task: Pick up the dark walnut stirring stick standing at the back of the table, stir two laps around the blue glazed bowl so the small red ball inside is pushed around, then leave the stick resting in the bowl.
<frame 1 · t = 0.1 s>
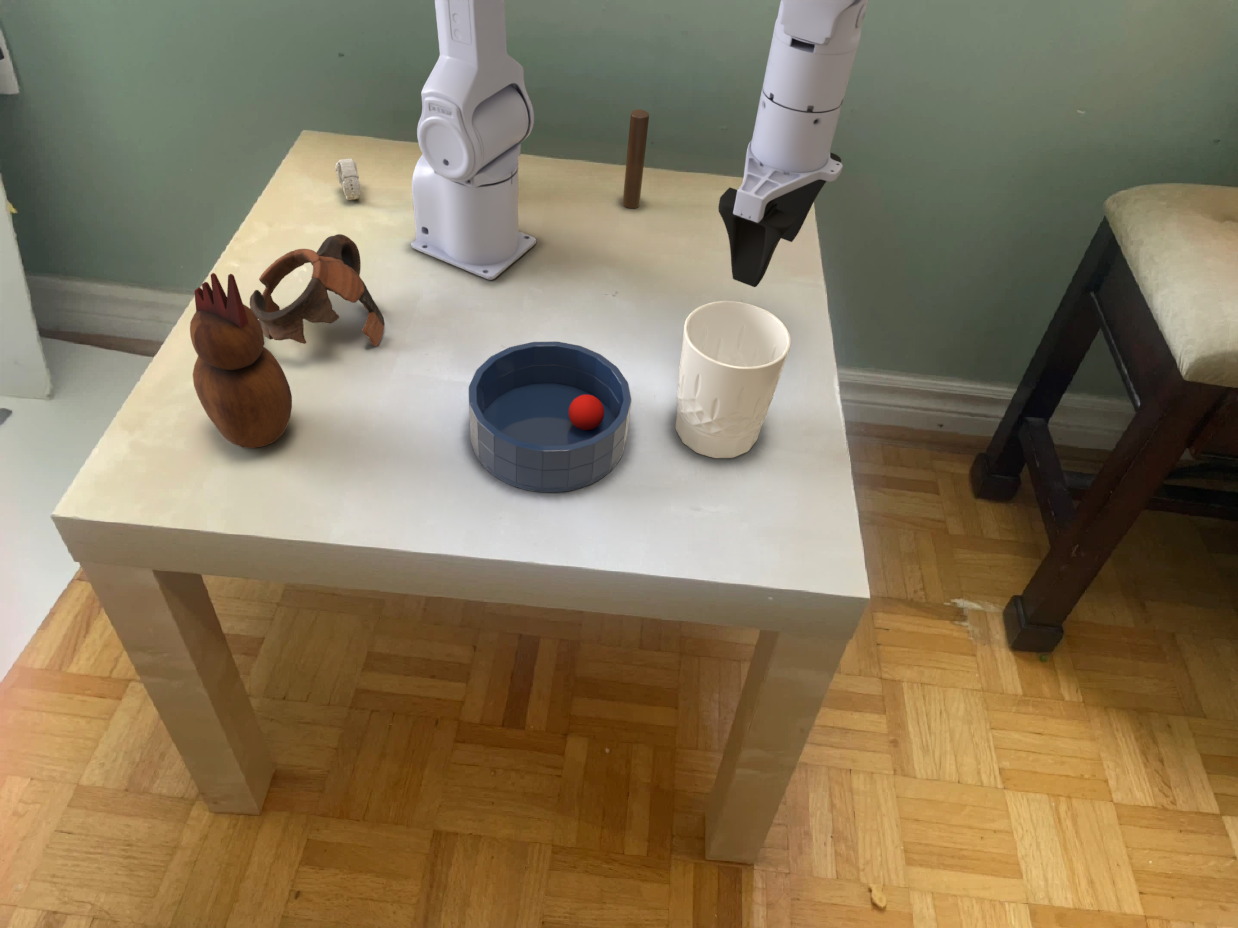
hand: (764, 258, 74), 10 cm above the table, tool pointing down, fingers open, 7 cm apart
red ball: (586, 412, 72), point 2 cm above the table, touching bowl
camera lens: (461, 189, 96), on the table
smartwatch: (351, 198, 94), on the table
stick: (630, 204, 97), on the table
white cup: (715, 431, 75), on the table
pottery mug: (330, 325, 80), on the table
wooden figurine: (256, 431, 70), on the table
bowl: (548, 434, 72), on the table
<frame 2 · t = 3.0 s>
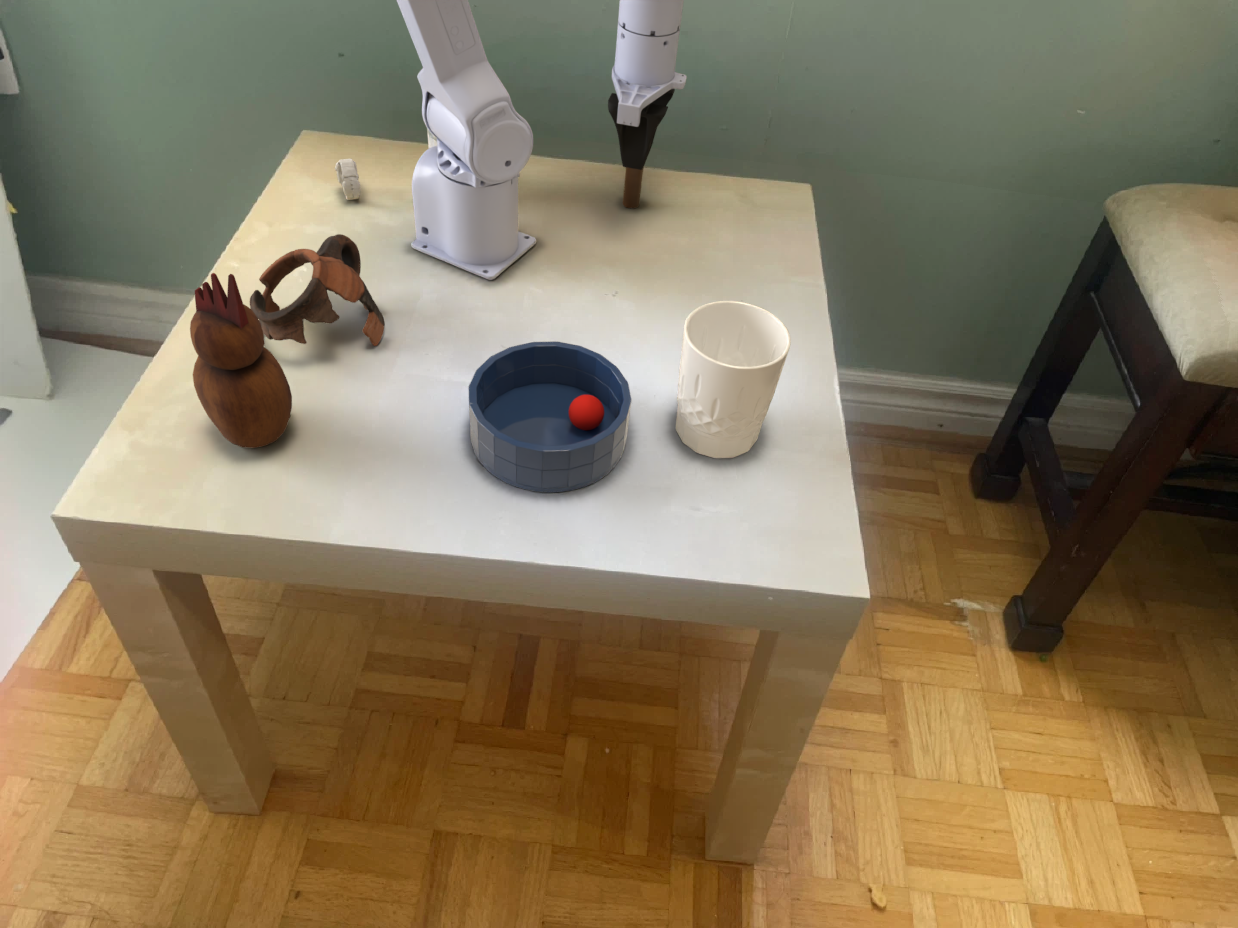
hand: (635, 161, 93), 5 cm above the table, tool pointing down, fingers closed on stick, 2 cm apart
stick: (630, 204, 97), on the table, touching gripper
everything else where it was.
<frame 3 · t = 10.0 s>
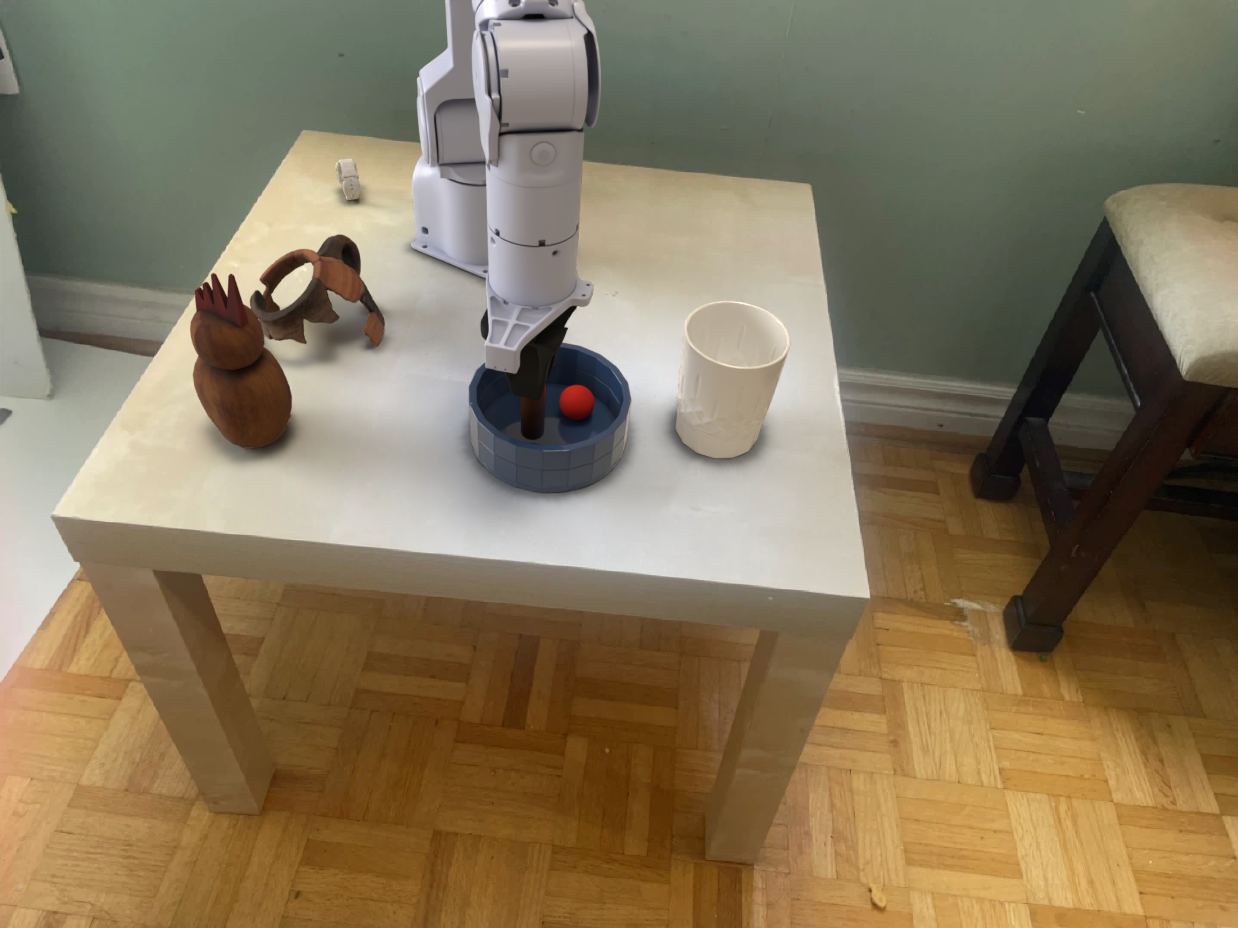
hand: (531, 384, 67), 6 cm above the table, tool pointing down, fingers closed on stick, 2 cm apart
red ball: (576, 402, 72), point 2 cm above the table, tilted 8°, touching bowl
stick: (532, 432, 70), point 2 cm above the table, touching gripper
everything else where it was.
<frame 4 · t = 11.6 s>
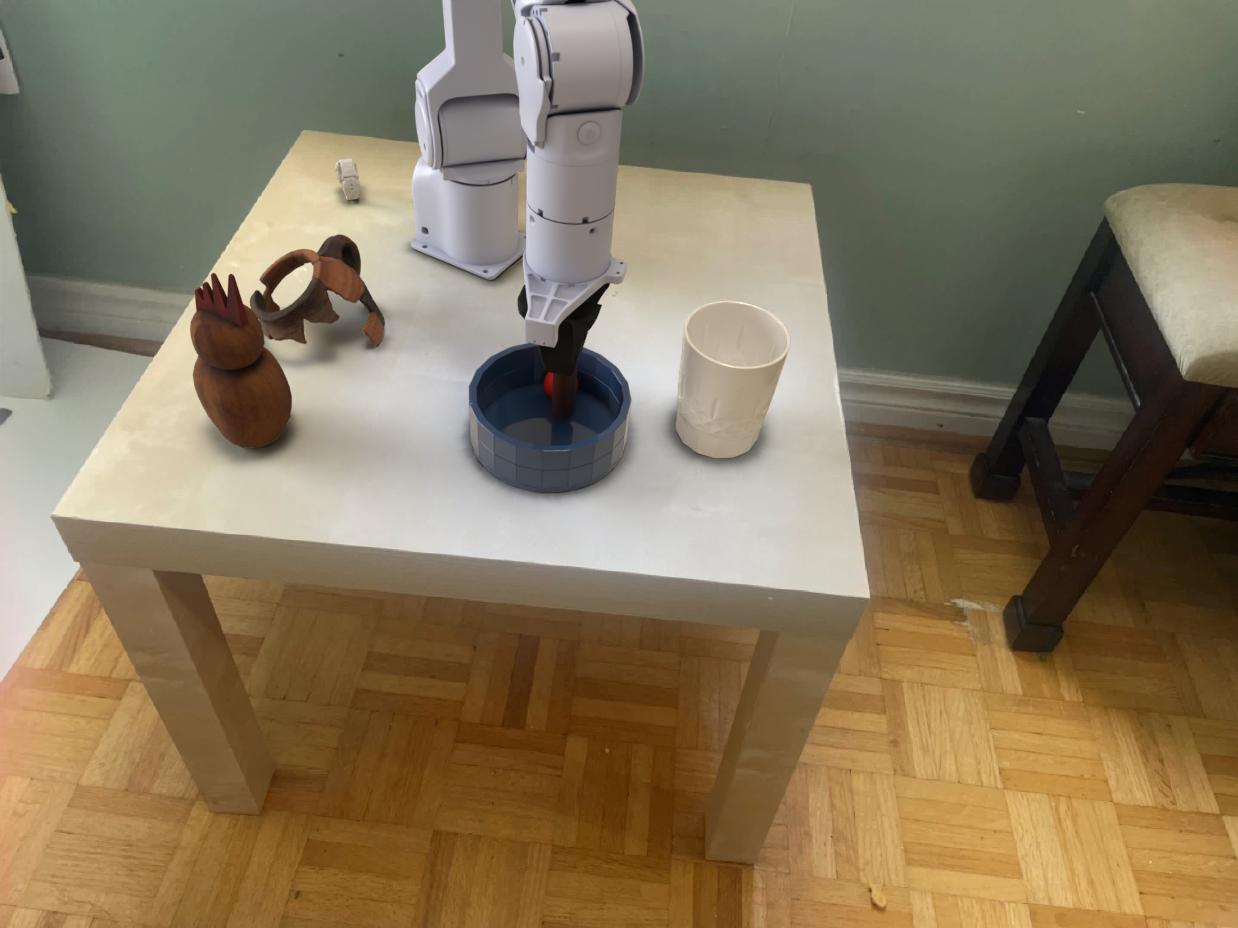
hand: (563, 361, 69), 6 cm above the table, tool pointing down, fingers closed on stick, 2 cm apart
red ball: (560, 384, 74), point 2 cm above the table, tilted 95°, touching bowl
stick: (563, 410, 72), point 1 cm above the table, touching gripper
everything else where it was.
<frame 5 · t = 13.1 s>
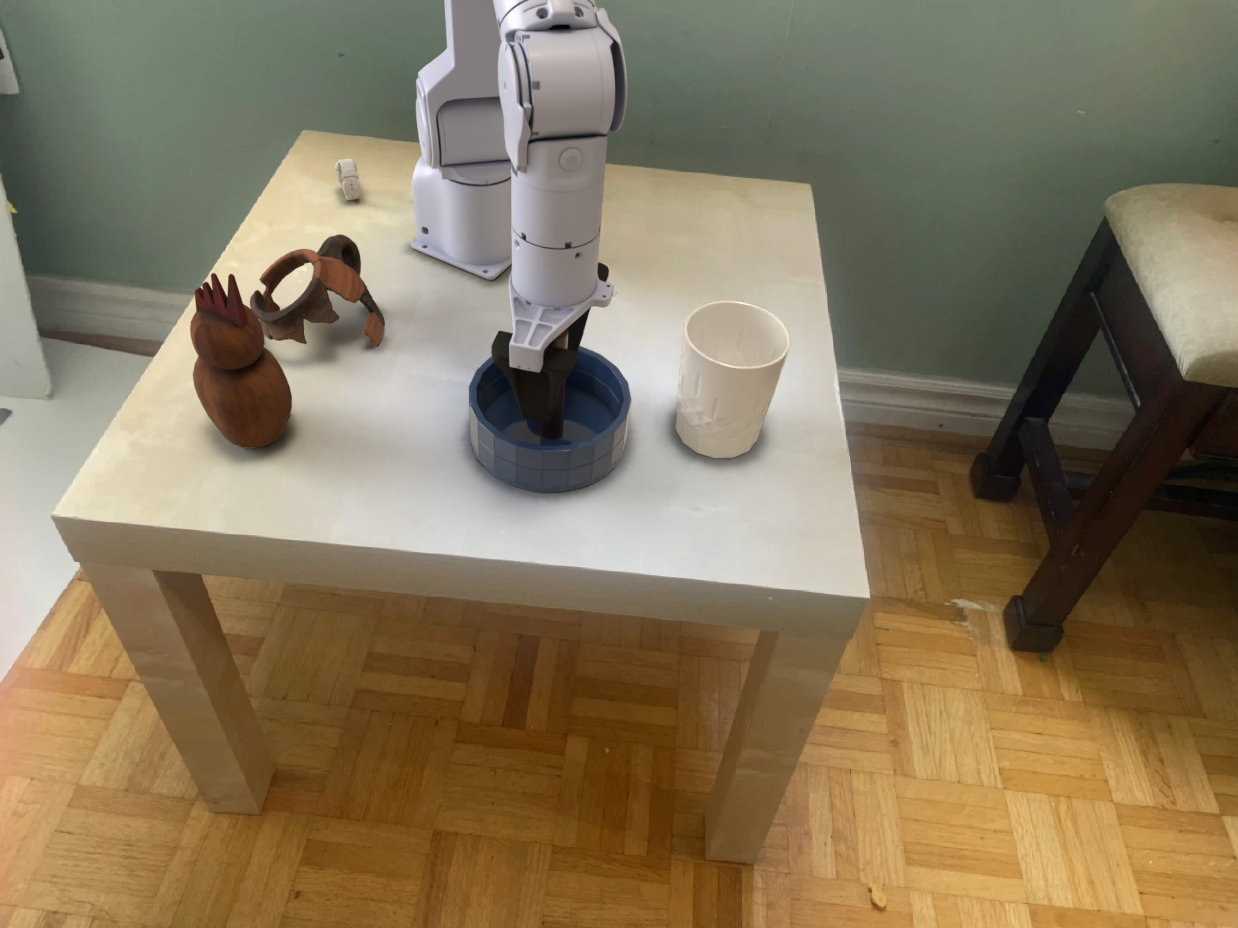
hand: (550, 382, 68), 6 cm above the table, tool pointing down, fingers open, 7 cm apart
red ball: (544, 394, 73), point 2 cm above the table, tilted 87°, touching bowl
stick: (551, 430, 72), resting on bowl
everything else where it was.
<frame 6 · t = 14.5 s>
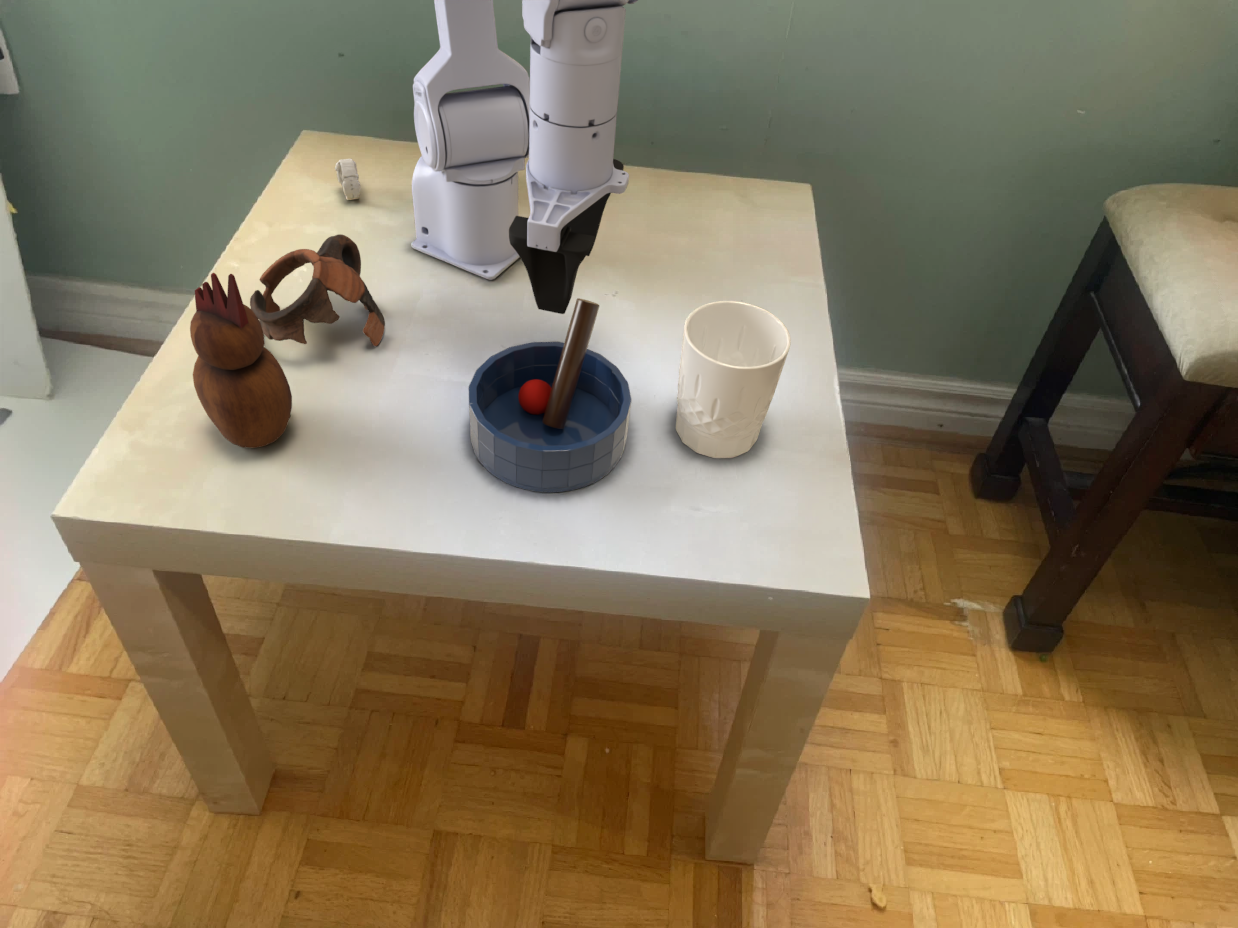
hand: (565, 279, 69), 10 cm above the table, tool pointing down, fingers open, 7 cm apart
red ball: (536, 396, 73), point 2 cm above the table, tilted 94°, touching bowl, stick
stick: (553, 425, 72), point 1 cm above the table, tilted 35°, touching bowl, red ball
everything else where it was.
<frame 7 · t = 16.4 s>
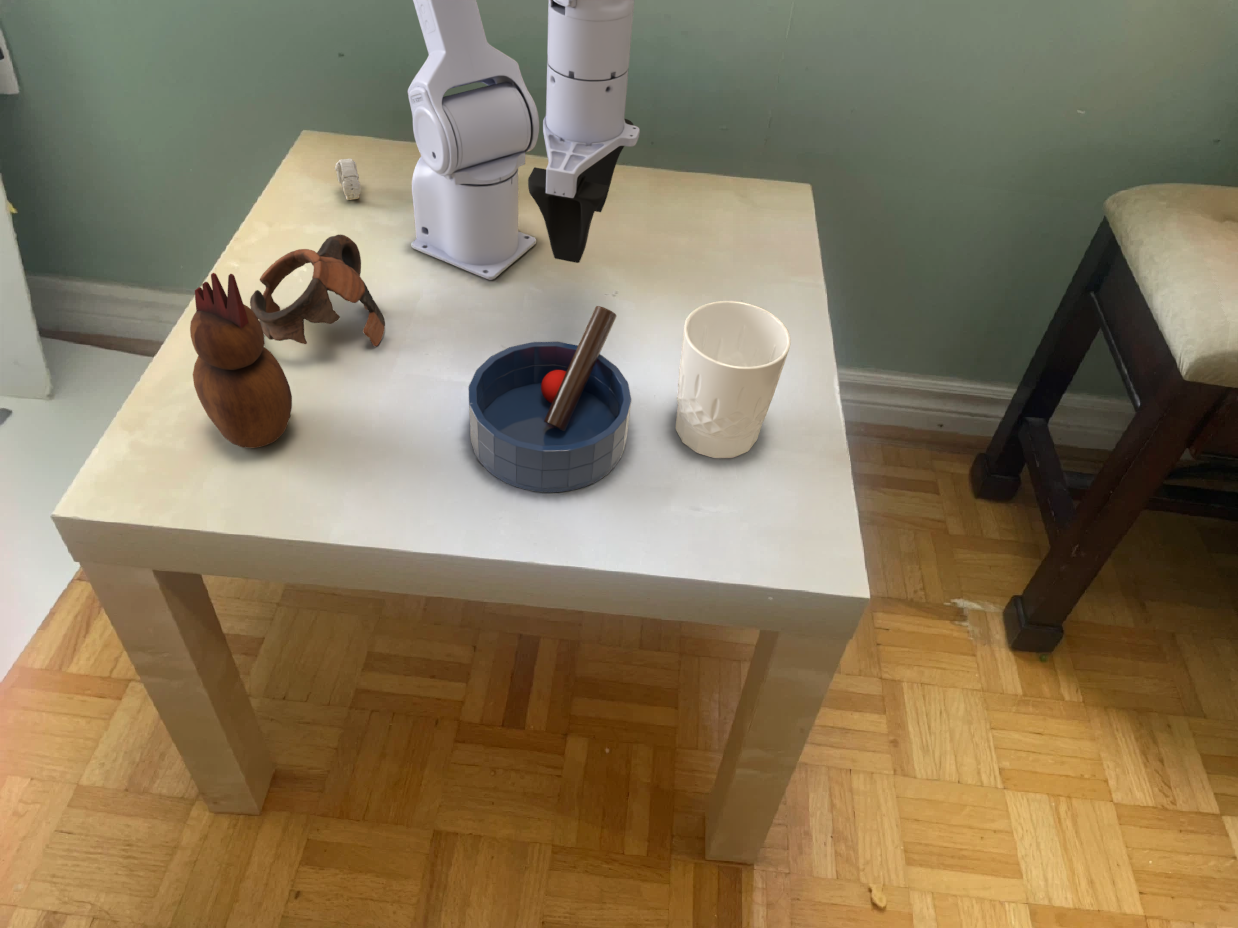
hand: (579, 232, 74), 10 cm above the table, tool pointing down, fingers open, 7 cm apart
red ball: (558, 387, 74), point 2 cm above the table, tilted 75°, touching bowl, stick
stick: (554, 426, 71), point 1 cm above the table, tilted 51°, touching bowl, red ball
everything else where it was.
at the end: red ball moved 3.6 cm from its start; red ball inside the target area in the bowl (3.6 cm from its centre), point 1.9 cm above the bowl's base; stick inside the target area in the bowl (0.5 cm from its centre), point 1.2 cm above the bowl's base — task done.
